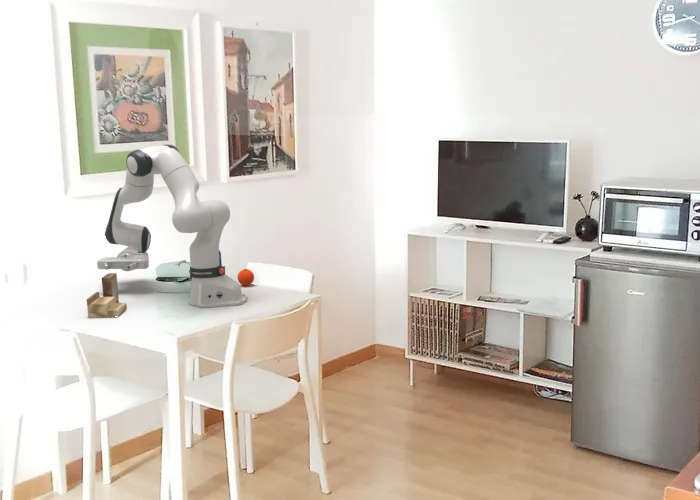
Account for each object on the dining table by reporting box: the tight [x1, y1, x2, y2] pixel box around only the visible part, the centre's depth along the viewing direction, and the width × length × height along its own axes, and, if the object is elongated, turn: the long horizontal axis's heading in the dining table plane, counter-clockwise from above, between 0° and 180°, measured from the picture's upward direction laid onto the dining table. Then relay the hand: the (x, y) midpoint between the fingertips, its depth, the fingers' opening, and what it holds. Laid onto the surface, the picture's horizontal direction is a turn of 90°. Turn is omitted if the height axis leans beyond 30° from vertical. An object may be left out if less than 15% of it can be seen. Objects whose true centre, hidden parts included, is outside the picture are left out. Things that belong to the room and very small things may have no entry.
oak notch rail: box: [86, 291, 128, 319], centre depth 296 cm, size 11×11×7 cm
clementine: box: [237, 268, 255, 287], centre depth 334 cm, size 8×7×7 cm
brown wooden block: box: [101, 272, 120, 303], centre depth 306 cm, size 3×8×12 cm, turn 179°
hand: (117, 267), depth 317 cm, fingers open, 8 cm apart
